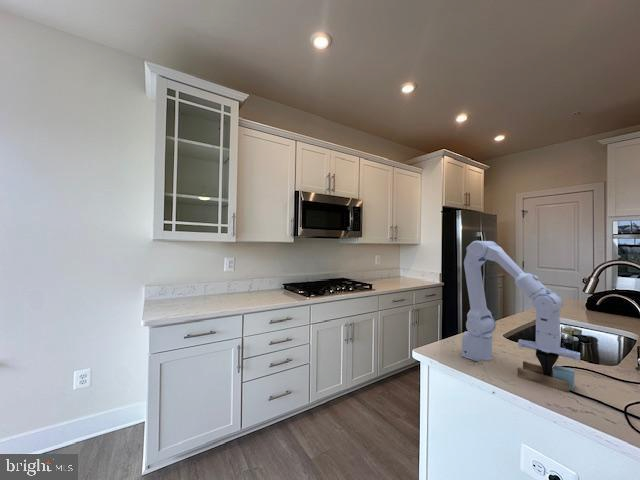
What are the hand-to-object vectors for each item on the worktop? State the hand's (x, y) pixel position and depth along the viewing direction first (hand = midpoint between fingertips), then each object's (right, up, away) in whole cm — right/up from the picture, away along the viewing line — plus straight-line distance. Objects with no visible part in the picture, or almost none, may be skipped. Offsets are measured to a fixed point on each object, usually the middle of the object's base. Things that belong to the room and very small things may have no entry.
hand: (547, 376), depth 83 cm
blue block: (+3, -1, -3) cm, 4 cm away
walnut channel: (0, -2, +1) cm, 2 cm away
